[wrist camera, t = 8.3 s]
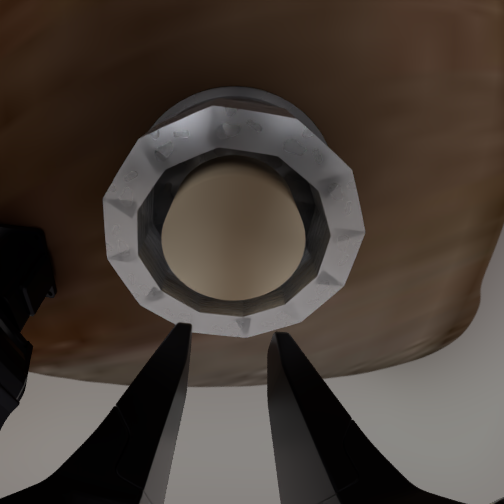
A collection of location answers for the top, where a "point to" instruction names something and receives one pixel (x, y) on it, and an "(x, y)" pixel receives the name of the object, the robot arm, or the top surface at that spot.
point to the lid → (233, 229)
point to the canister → (222, 144)
